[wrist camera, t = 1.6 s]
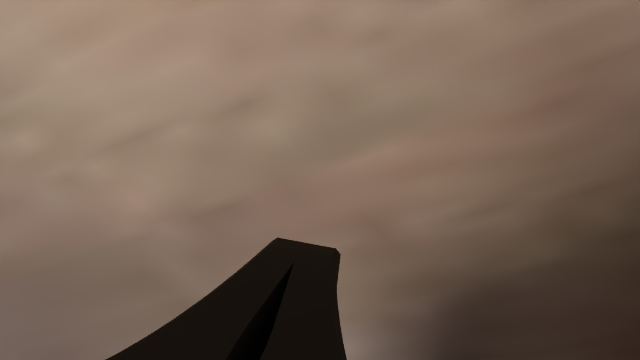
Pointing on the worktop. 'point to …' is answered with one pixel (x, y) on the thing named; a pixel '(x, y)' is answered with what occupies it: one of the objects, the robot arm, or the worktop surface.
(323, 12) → the worktop surface
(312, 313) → the robot arm
